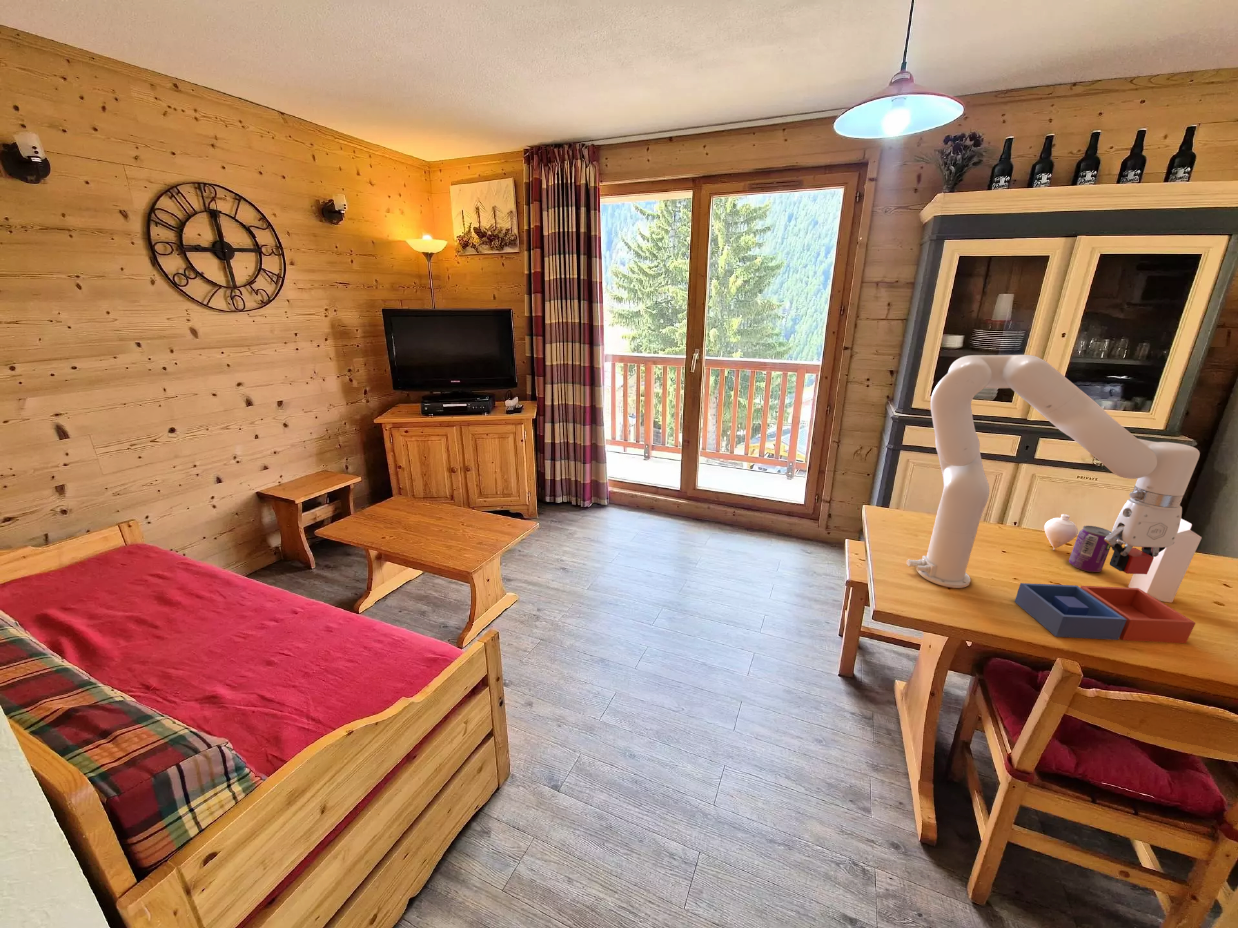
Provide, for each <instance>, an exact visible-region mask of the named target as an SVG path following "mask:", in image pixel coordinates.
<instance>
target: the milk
mask: <svg viewBox="0 0 1238 928" xmlns="http://www.w3.org/2000/svg"><path fill="white" fill-rule="evenodd" d="M1192 527H1193V524H1192V523H1191V522H1189V521H1187V520H1185V519H1183V518H1181V521H1180V526H1179V529H1178V532H1177V535H1176V538H1175V541H1174V544H1173V545H1171V546H1169V547H1166V548H1165V549H1164V550H1162V551H1161V552H1159V554H1158V556H1157V557H1154V558H1153V561H1152V563H1151V566H1150V568H1149V571H1148V573H1147V574H1132V576H1131V579H1130V581H1129V583H1128V586H1127V588H1139V589H1141V590H1142V591H1144V592H1146V593H1147V594H1149V595H1151V596H1152V597H1154V598H1156V599H1157V600H1159V601H1160V602H1163V603H1164V602H1165V603H1173V602H1174V599H1175V597H1176V595H1177V593H1178V591H1179V588H1180V586H1181V584H1182V582H1183V580H1184V577H1185V575H1186V573H1187V571H1188V569H1189V566H1190V565H1191V562H1192V560H1193V558H1194V556H1195V554H1196V552H1197V549H1198V547H1199V545H1200V543H1201V540H1202V536H1200V534H1198V533H1196V532H1195V531H1194V530H1192Z"/></svg>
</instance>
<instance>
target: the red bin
mask: <svg viewBox="0 0 1238 928" xmlns="http://www.w3.org/2000/svg"><path fill="white" fill-rule="evenodd" d="M1079 587H1080V588H1081V589H1083V590H1084V591H1086V592H1087V593H1089V594H1090V595H1092V596H1093V597H1095V598H1096V599H1097V600H1099V601H1100V602H1102V603H1103V604H1105V605H1106V606H1108V607H1109V608H1111V609H1112V610H1114V611H1115V612H1116V613H1118V614H1119V615H1121V616H1122V617H1124V618H1125V619H1127V620H1126V623H1125V625H1124V627H1123V630H1122V632H1121V635H1120V637H1119V639H1120V640H1121V641H1130V642H1132V641H1133V642H1154V643H1172V644H1173V643H1175V644H1187V642H1188V640H1189V639H1190V636H1191V634H1192V632H1193V629H1194V627H1195V625H1196V621H1194V620H1192V619H1191V618H1189V617H1187V616H1186V615H1184V614H1182V613H1181V612H1179V611H1177V610H1175V609H1174V608H1172V607H1170V606H1169V605H1168V604H1165V603H1164V602H1163V601H1159V600H1157V599H1156V598H1154V597H1152V596H1151V595H1149V594H1147V593H1146V592H1144V591H1142V590H1141V589H1139V588H1129V587H1124V586H1123V587H1122V586H1121V587H1119V586H1098V585H1097V586H1096V585H1080V586H1079Z"/></svg>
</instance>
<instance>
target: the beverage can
mask: <svg viewBox="0 0 1238 928" xmlns="http://www.w3.org/2000/svg"><path fill="white" fill-rule="evenodd" d="M1110 533H1112V530H1108V529H1106V528H1104V527H1100V526H1096V525H1095V526H1094V525H1084V526H1083V527H1082V529H1081V530H1079V531H1078V534H1077V536H1076V539H1075V542H1074V545H1073V548H1072V551H1071V553H1070V555H1069V559H1068V563H1069V564H1071V565H1072V566H1073V567H1074V568H1076V569H1078V570H1080V571H1084V572H1089V573H1099V572H1102V571H1103V569H1104V565H1105V563H1106V560H1107V558H1108V555H1109V552H1110V551H1111V548H1112V547H1111V546H1110V545H1109V544H1108V543H1107V542H1106V541H1105V540H1104V538H1105V537H1107V536H1108V535H1109V534H1110Z"/></svg>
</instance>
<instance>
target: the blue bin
mask: <svg viewBox="0 0 1238 928" xmlns="http://www.w3.org/2000/svg"><path fill="white" fill-rule="evenodd" d="M1080 587H1081V586H1078V585H1073V584H1069V585H1068V584H1049V583H1048V584H1047V583H1027V582H1025V583H1024V582H1020V583H1019V587H1018V590H1017V593H1016V596H1015V599H1014V603H1015V604H1016V605H1018V606H1019V607H1020V608H1021V609H1022V610H1024V612H1026V613H1027V614H1028V615H1029V616H1030V617H1032V618H1033V619H1034V620H1035V621H1036V622H1037V623H1039V624H1040V625H1041V626H1043V627H1044V629H1046V630H1047V631H1048V632H1050V633H1051V634H1052V635H1053V636H1054V637H1055V638H1071V639H1092V640H1113V641H1114V640H1115V641H1118V640H1119V639H1120V638H1119V637H1120V635H1121V632H1122V630H1123V627H1124V625H1125V623H1126V620H1127V619H1125V618H1124V617H1122V616H1121V615H1119V614H1118V613H1116V612H1115V611H1114V610H1112V609H1111V608H1109V607H1108V606H1106V605H1105V604H1103V603H1102V602H1100V601H1099V600H1097V599H1096V598H1095V597H1093V596H1092V595H1090V594H1089V593H1087V592H1086V591H1084V590H1083V589H1081V588H1080ZM1054 596H1066V597H1075V598H1076V599H1077V600H1079V601H1080V602H1082V603H1083V604H1084V605H1086V606H1087V607H1089V610H1088V613H1087V615H1086V616H1081V615H1064V614H1063V613H1061V612H1060V611H1059V610H1058V609H1056V608H1055V607H1054V606H1052V605H1051V604H1052V602H1053V599H1054Z"/></svg>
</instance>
